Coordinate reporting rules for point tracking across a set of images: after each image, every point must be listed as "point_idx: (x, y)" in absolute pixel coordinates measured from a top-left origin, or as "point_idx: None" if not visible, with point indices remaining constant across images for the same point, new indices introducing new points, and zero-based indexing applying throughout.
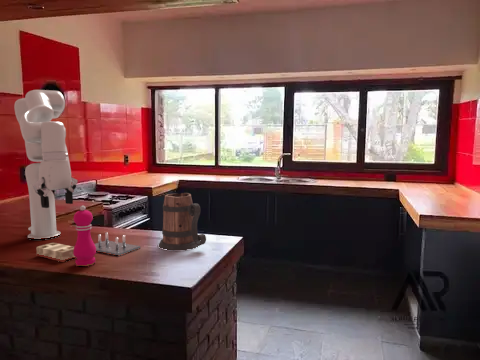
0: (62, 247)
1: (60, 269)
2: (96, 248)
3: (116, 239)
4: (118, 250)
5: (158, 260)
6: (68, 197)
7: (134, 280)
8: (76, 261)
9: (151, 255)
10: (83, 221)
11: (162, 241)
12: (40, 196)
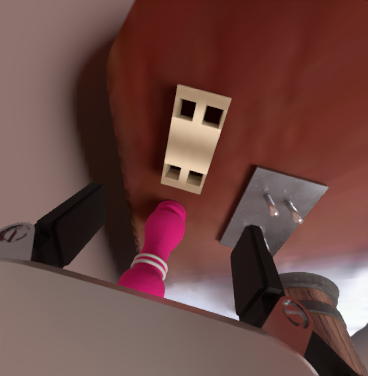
0: (192, 160)
1: (137, 190)
2: (247, 198)
3: None
4: (238, 238)
5: (212, 283)
6: (241, 275)
7: None
8: (155, 210)
9: None
10: None
11: (288, 287)
12: (26, 230)
